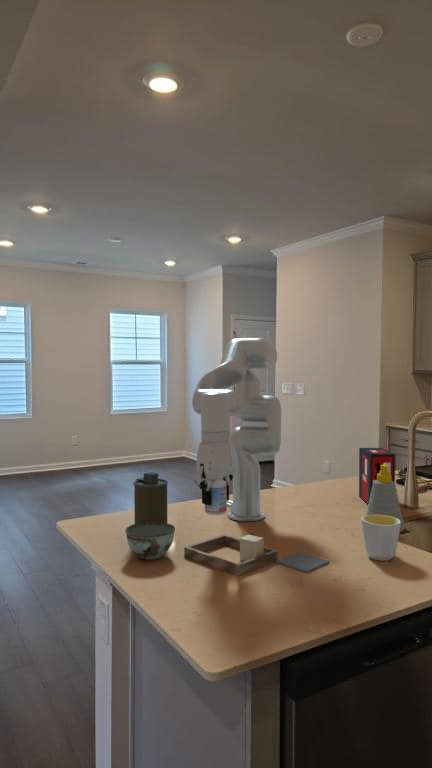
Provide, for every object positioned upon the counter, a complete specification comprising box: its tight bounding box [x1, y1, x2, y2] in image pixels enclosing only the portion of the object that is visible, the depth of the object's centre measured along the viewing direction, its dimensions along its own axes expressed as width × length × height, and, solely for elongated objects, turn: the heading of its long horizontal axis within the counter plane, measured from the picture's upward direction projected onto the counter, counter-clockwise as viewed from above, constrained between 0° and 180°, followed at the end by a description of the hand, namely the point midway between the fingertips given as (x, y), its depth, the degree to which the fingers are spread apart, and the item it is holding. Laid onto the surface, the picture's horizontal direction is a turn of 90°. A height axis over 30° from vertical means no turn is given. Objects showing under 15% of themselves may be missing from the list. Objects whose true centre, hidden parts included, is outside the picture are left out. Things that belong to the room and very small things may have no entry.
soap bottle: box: [366, 463, 405, 533], centre depth 172 cm, size 12×12×20 cm
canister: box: [132, 471, 169, 524], centre depth 162 cm, size 11×10×20 cm
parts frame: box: [183, 534, 279, 577], centre depth 145 cm, size 20×16×2 cm
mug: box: [361, 514, 401, 562], centre depth 147 cm, size 14×10×10 cm
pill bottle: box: [204, 473, 228, 516], centre depth 146 cm, size 6×6×11 cm
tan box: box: [239, 534, 265, 562], centre depth 143 cm, size 5×4×6 cm
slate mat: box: [275, 551, 330, 574], centre depth 141 cm, size 10×10×1 cm
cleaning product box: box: [358, 447, 396, 506], centre depth 204 cm, size 16×9×20 cm, turn 179°
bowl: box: [124, 522, 176, 562], centre depth 146 cm, size 14×13×8 cm
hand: (215, 501), depth 147 cm, fingers closed on pill bottle, 6 cm apart
